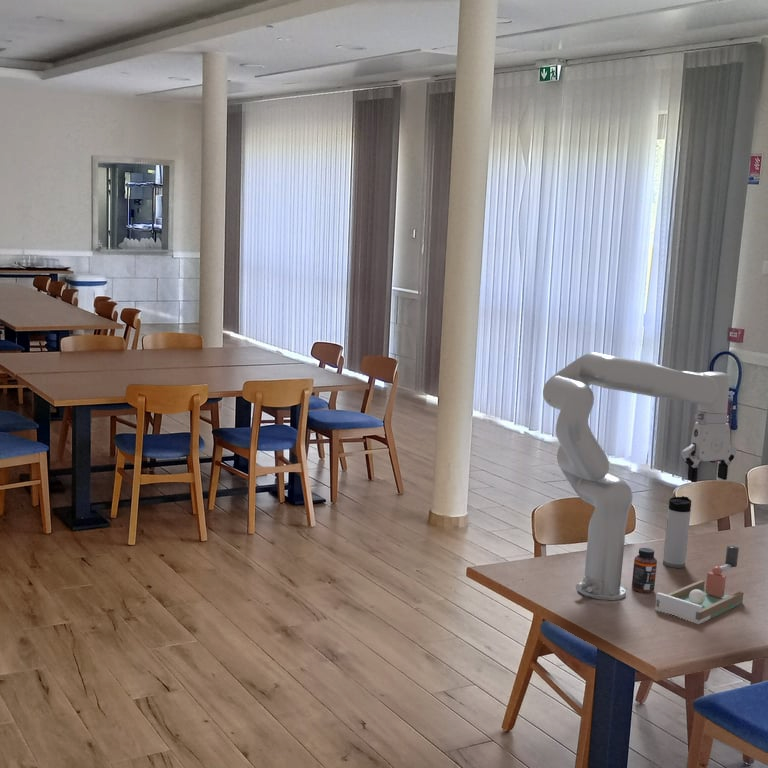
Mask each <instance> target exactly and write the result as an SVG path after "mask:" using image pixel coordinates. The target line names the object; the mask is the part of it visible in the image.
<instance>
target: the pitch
mask: <svg viewBox="0 0 768 768" xmlns="http://www.w3.org/2000/svg"><path fill="white" fill-rule="evenodd" d="M705 582H706V581H705V580H702V579H700V580H698V581H695V582H693V583H691V584H688V585H686V586H683V587H681V588H679V589H675V590H673V591H671V592H669V593H666V594H665V593H662V592H656V598H655V607H654V608H655V609H656V610H655V609H654V610H655V611H657V610H658V611H657V612H660V611H662V612H661V613H663V612H665V613H664V614H666V613H669V614H672V615H675V616H678V617H680V618H679V619H681V618H683V619H682V620H684V619H685V621H687V620H688V622H690V621H691V623H693V622H694V624H695V625H696V624H697V625H700V624H702V623H705V622H706V621H709V620H710V619H713V618H714V617H716V616H720V615H721V614H723V613H725V612H727V611H729V610H731V609H733V608H736V607H737V605H738V606H739V604H740V605H742V604H743V601H744V591H741V590H739V591H737V592H736V593H733V594H731V595H728V594H725V593H724V597H722V598H719V597H716V596H713V595H709V594H706V593H705V592H706V587H705ZM695 589H699V590H701V591H702V592H703V593H704V595H705V601H704V602H703V603H702V604H701V605H698V604H695V603H691V602H690V600H689V594H690V592H691V591H692V590H695ZM741 603H742V604H741ZM735 606H736V607H735ZM669 614H668V615H669ZM672 615H671V616H672ZM675 616H674V617H675ZM678 617H677V618H678Z"/></svg>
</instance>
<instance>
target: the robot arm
mask: <svg viewBox="0 0 768 768" xmlns="http://www.w3.org/2000/svg"><path fill="white" fill-rule="evenodd" d="M591 385H593V386H597V387H600V388H603V389H608V390H614V391H619V392H625V393H632V394H637V395H642V396H648V397H653V398H660V399H661V398H663V399H669V400H675V401H681V402H686V403H690V404H691V403H693V404H697V413H696V414H694V419H695V420H696V422H695V423H694V426H693V430H692V435H691V439H690V445H688V446H687V447H686V448H684V449H682V450H681V452H680V453H681V456H682V458H683V459H682V460H683V461H684V463H685V464H686V465H687V466H688V468H687V480H688V481H690V482H692V483H697V482H698V476H699V475H698V472H699V469H698V467H697V466H698V465H699V464H700V462H711V461H712V462H715V461H719V463H718V466H717V478H718V479H721V480H723V481H726V480H728V471H729V470H728V469H729V466H730V465H731V462H732V461H733V460H734V458H735V455H736V453H737V451H738V448H737V447H735V446H733V445H732V444H731V429H730V423H729V422H727V419H728V417H727V416H728V404H729V393H730V376H729V375H728V374H727V373H725V372H722V371H706V372H705V371H704V372H698V371H697V372H695V371H690V370H677V369H673V368H669V367H667V366H663V365H660V364H656V363H652V362H648V361H643V360H642V361H641V360H637V359H631V358H625V357H621V356H614V355H609V354H606V353H600V352H596V351H592V352H591V351H590V352H588V353H585V354H583V355H581V356H580V357H578V358H576V359H575V360H573V361H572V362H571V363H569V364H568V365H566V366H565V367H563V368H562V369H561V370H559V371H557V372H556V373H555V374H553V375H552V376H551V377H549V379H548V380H547V381H546V383H544V387H543V389H542V396H543V397H542V398H544V401H545V403H546V404H548V406H550V407H552V408H554V409H556V410H559V414H558V416H557V420H556V425H555V435H556V438H557V440H558V442H559V444H560V445H559V447H558V449H557V453H556V459H557V460H556V461H557V464H558V467H559V468H560V470H561V472H562V474H563V475H564V477H565V478H566V480H567V482H568V483H569V484H570V486H571V488H572V489H573V491H574V492H575V493H576V495H577V496H578V497H579V498H580V499H581V500H582V501H583V502H585V503H587V504H588V505H589V504H590V505H592V507H594V510H593V513H592V515H591V518H590V520H589V523H588V531H587V533H588V534H587V543H586V555H585V556H586V557H585V567H584V575H583V579H582V581H581V582H579V583H577V584H576V585H575V590H576V591H577V592H578V593H580V594H582V595H584V596H585V597H589V598H593V599H597V600H605V601H616V600H622V599H624V598H625V597H626V593H627V590H626V588H624V586H621V584H622V582H621V581H622V573H623V572H622V571H623V560H624V553H625V552H624V551H625V540H626V529H627V523H628V517H629V513H630V510H631V508H632V507H631V506H632V505H633V504H632V503H633V491H632V489H631V487H630V485H629V484H628V482H627V481H625V480H623V478H621V477H618V476H616V475H614V474H612V473H609V471H610V461H609V459H608V457H607V454H606V453H605V451H604V449H603V447H602V446H601V445H600V443H599V442H598V441H597V438H596V437H595V435H594V433H593V431H592V430H591V428H590V426H589V418H590V415H591V412H592V410H593V407H594V404H595V403H594V401H595V396H594V392H593V390H592V388H591V387H590V386H591Z"/></svg>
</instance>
